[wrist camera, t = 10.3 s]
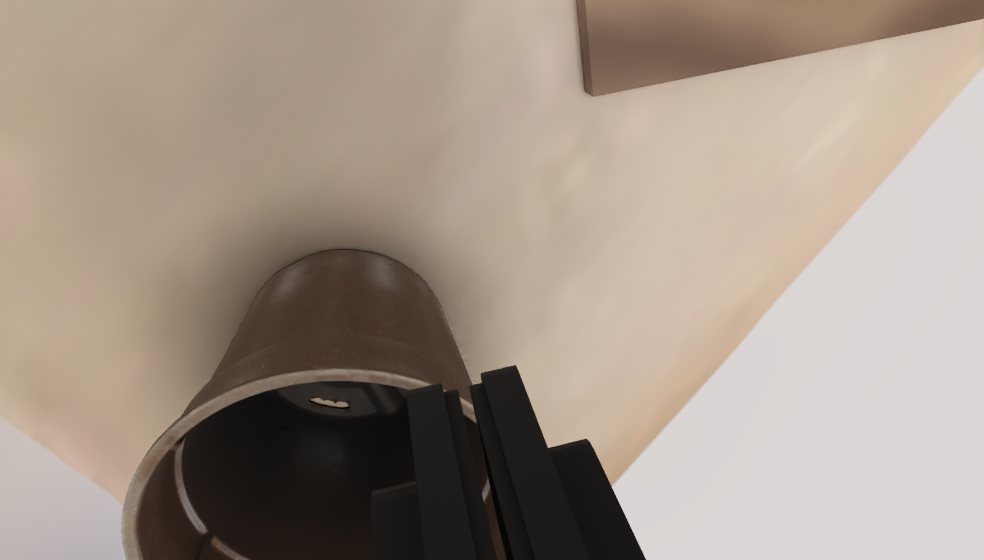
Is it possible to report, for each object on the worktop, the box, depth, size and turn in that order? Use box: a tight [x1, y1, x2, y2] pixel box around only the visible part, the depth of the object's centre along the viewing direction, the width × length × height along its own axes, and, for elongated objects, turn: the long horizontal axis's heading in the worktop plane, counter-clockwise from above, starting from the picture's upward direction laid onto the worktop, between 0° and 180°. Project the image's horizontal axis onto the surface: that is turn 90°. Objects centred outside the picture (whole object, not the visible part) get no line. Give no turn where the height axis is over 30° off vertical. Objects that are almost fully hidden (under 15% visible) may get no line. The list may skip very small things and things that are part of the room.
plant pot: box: [122, 250, 506, 560], centre depth 35 cm, size 16×16×16 cm
